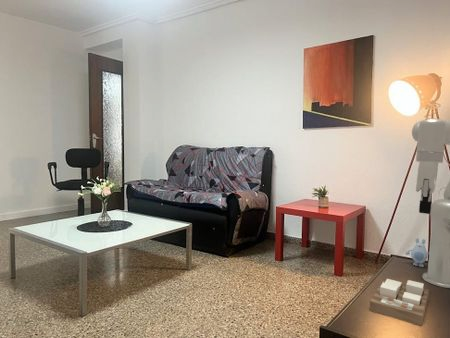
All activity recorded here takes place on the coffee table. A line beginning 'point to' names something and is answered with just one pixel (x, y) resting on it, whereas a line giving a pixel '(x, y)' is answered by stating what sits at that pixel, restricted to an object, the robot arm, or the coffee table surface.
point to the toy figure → (418, 253)
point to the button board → (399, 306)
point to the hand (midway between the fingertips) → (424, 212)
